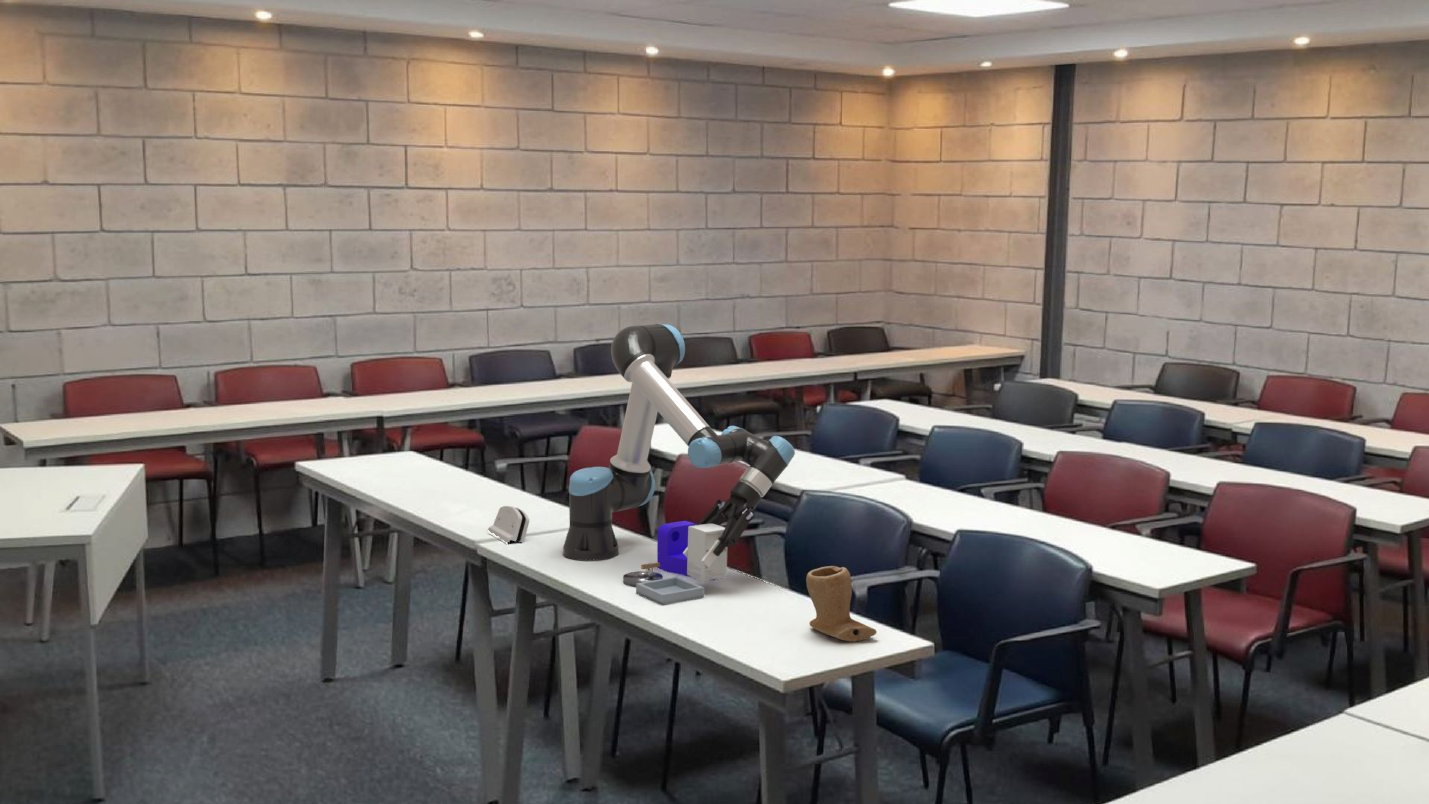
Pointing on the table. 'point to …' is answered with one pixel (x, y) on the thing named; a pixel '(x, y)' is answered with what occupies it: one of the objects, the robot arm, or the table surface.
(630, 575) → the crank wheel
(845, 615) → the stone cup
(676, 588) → the tray
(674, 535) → the bracket
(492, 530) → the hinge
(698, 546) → the supplement box
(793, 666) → the table surface
